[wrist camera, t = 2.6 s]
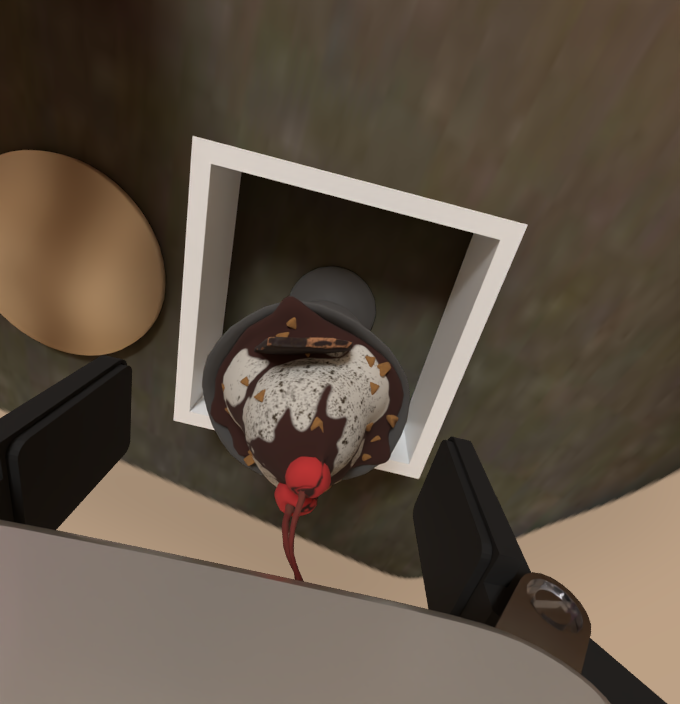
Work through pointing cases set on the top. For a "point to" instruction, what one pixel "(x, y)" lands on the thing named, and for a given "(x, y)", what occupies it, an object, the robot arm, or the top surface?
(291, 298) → the sundae
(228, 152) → the white square frame
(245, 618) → the robot arm
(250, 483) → the top surface
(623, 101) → the top surface
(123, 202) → the coaster
